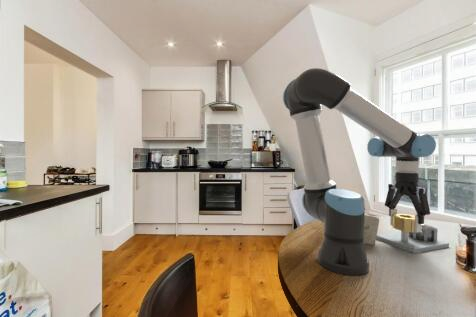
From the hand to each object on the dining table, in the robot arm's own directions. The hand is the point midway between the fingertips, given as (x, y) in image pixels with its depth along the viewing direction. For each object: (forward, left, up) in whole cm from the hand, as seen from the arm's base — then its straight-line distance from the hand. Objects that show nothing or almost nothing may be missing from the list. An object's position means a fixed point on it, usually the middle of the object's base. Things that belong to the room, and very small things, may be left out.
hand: (405, 228), depth 96 cm
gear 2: (+10, 0, -5) cm, 12 cm away
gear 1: (0, 0, 0) cm, 0 cm away
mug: (-14, +8, -7) cm, 18 cm away
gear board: (+5, +1, -7) cm, 8 cm away
